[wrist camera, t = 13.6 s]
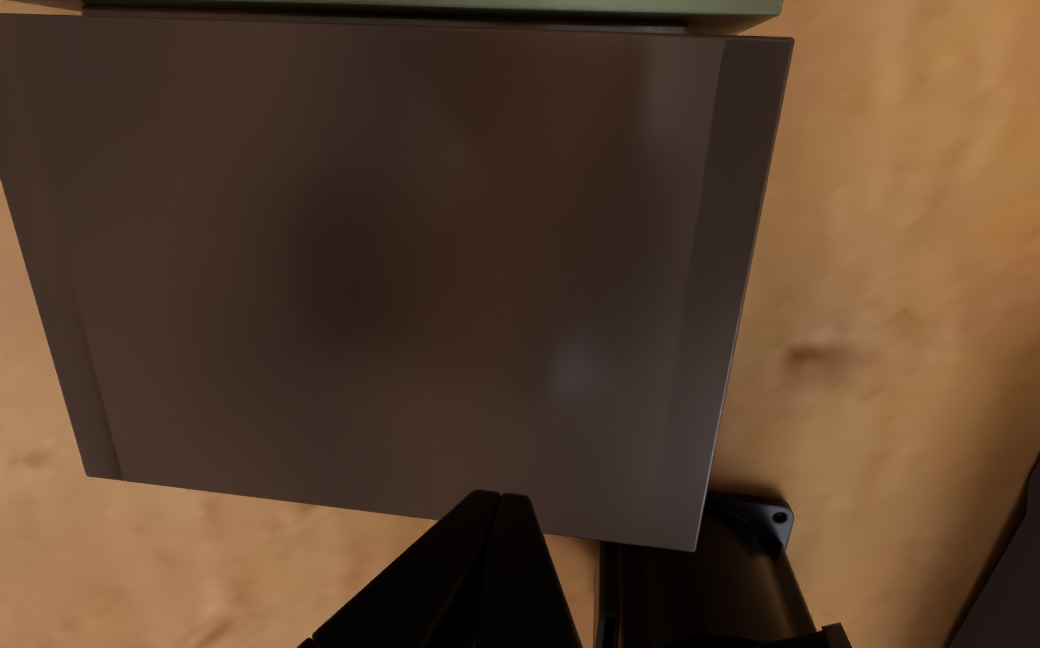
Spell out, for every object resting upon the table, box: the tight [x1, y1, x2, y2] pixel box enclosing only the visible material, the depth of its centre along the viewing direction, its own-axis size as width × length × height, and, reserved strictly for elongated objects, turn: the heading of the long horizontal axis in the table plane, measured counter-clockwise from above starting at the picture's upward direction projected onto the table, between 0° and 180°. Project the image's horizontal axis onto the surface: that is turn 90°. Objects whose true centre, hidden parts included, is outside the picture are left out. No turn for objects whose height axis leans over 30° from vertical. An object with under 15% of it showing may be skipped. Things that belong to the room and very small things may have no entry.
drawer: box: [10, 0, 783, 35], centre depth 11 cm, size 13×10×3 cm
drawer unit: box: [0, 13, 794, 552], centre depth 15 cm, size 13×9×10 cm
